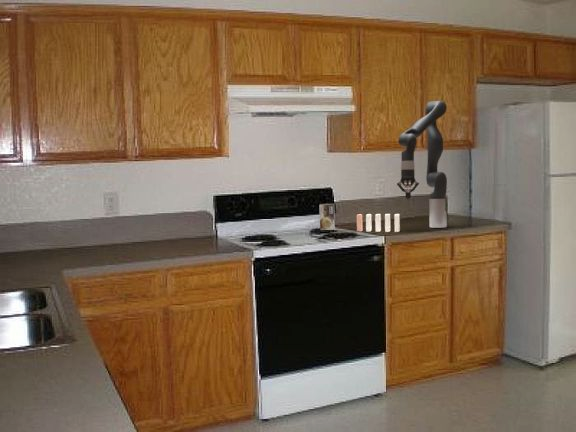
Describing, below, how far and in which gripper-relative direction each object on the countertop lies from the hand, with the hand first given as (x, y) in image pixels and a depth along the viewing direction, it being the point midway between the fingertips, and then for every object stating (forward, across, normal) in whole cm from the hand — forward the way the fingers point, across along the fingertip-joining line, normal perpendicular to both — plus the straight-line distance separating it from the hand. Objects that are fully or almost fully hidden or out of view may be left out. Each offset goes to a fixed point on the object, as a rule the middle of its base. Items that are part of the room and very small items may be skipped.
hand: (408, 198), depth 347 cm
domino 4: (+19, +12, 0) cm, 22 cm away
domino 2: (+19, +23, 0) cm, 30 cm away
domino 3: (+19, +18, 0) cm, 26 cm away
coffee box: (+19, +49, -5) cm, 53 cm away
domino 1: (+19, +28, 0) cm, 34 cm away
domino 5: (+19, +6, 0) cm, 20 cm away
